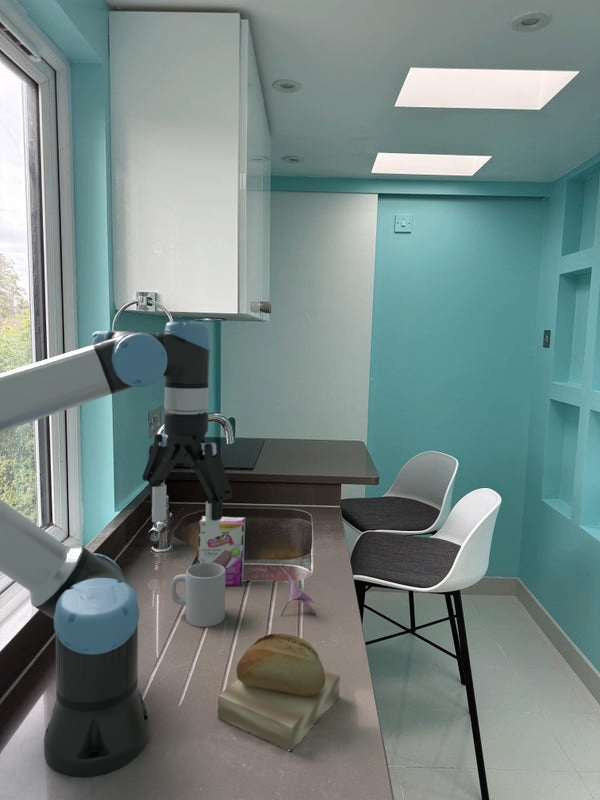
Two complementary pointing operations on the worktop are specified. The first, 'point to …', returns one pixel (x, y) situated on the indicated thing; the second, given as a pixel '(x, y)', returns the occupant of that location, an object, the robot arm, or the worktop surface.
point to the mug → (202, 594)
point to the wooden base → (276, 710)
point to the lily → (297, 593)
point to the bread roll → (282, 665)
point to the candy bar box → (225, 548)
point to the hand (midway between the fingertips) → (184, 528)
